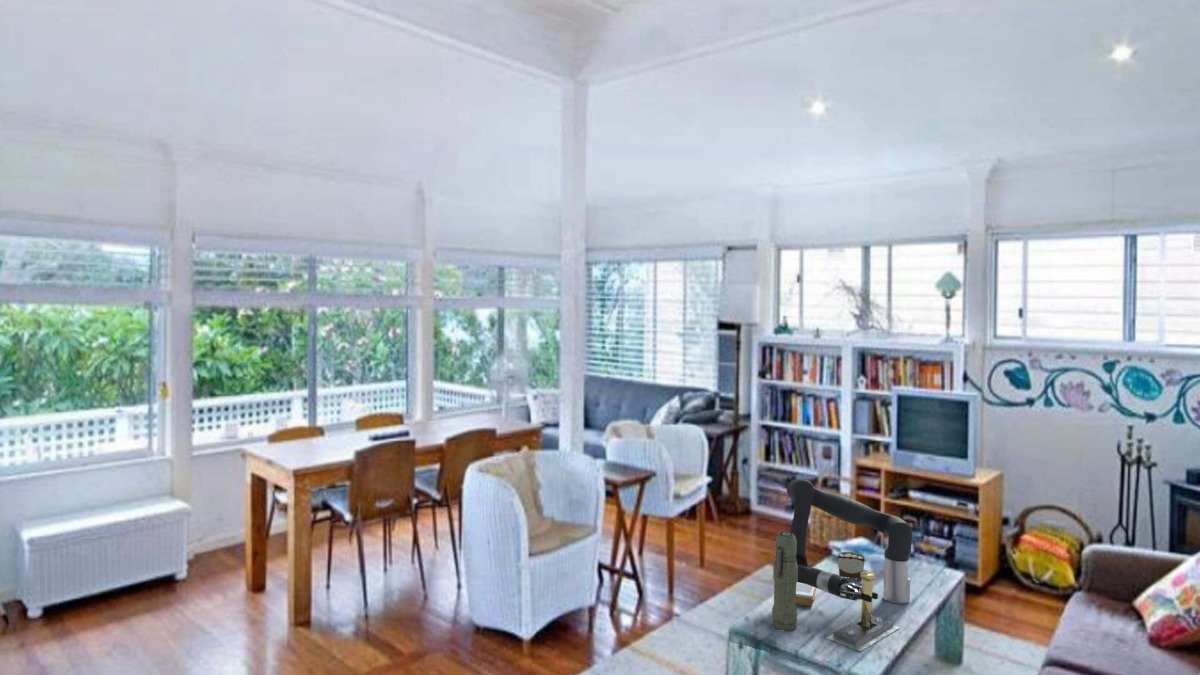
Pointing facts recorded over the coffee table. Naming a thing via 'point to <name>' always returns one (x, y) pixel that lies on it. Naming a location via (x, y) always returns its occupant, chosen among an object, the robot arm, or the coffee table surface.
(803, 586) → the soap dish
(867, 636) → the bolted mounting plate
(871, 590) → the brass pin
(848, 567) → the food container
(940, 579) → the coffee table surface
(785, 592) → the thermos
